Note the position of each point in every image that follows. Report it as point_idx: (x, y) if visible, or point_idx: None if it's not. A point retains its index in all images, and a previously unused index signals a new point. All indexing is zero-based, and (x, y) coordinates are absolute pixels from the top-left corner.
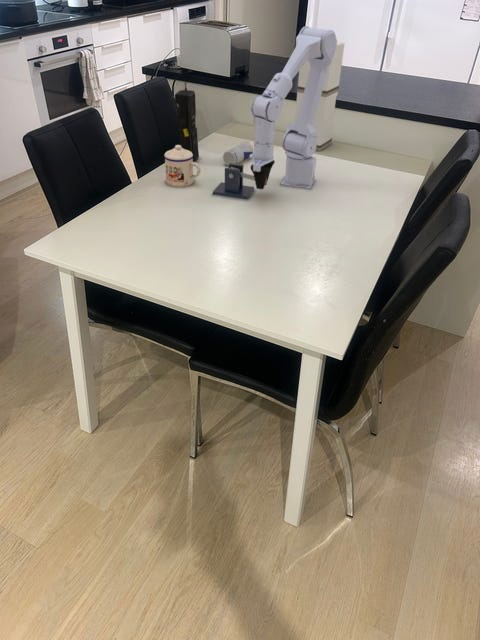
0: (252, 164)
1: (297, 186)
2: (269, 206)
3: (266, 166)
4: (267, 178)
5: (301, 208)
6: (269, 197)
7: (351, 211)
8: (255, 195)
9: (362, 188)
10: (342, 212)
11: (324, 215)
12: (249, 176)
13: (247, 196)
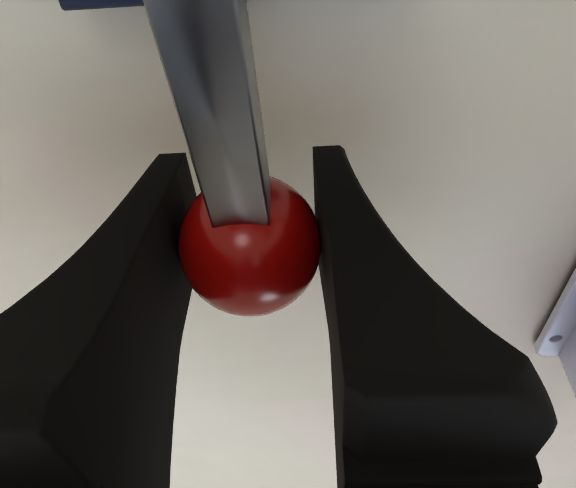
0: (24, 437)
1: (561, 299)
2: (104, 219)
3: (337, 437)
4: (323, 288)
5: (207, 357)
6: (285, 174)
7: (289, 466)
8: (272, 36)
9: (567, 467)
10: (262, 453)
11: (188, 423)
12: (178, 115)
13: (78, 9)
